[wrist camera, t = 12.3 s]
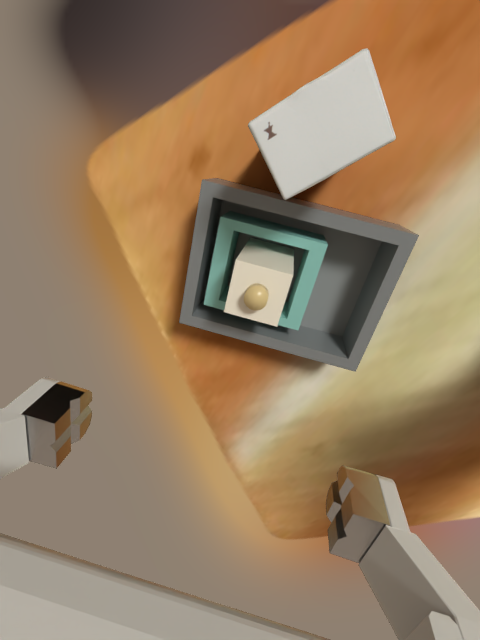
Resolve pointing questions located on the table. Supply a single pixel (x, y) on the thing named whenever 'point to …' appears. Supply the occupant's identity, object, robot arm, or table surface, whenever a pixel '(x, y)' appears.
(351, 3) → the table surface
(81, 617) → the robot arm
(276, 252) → the plug
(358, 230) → the organiser box
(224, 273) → the inlet socket
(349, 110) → the skincare box
